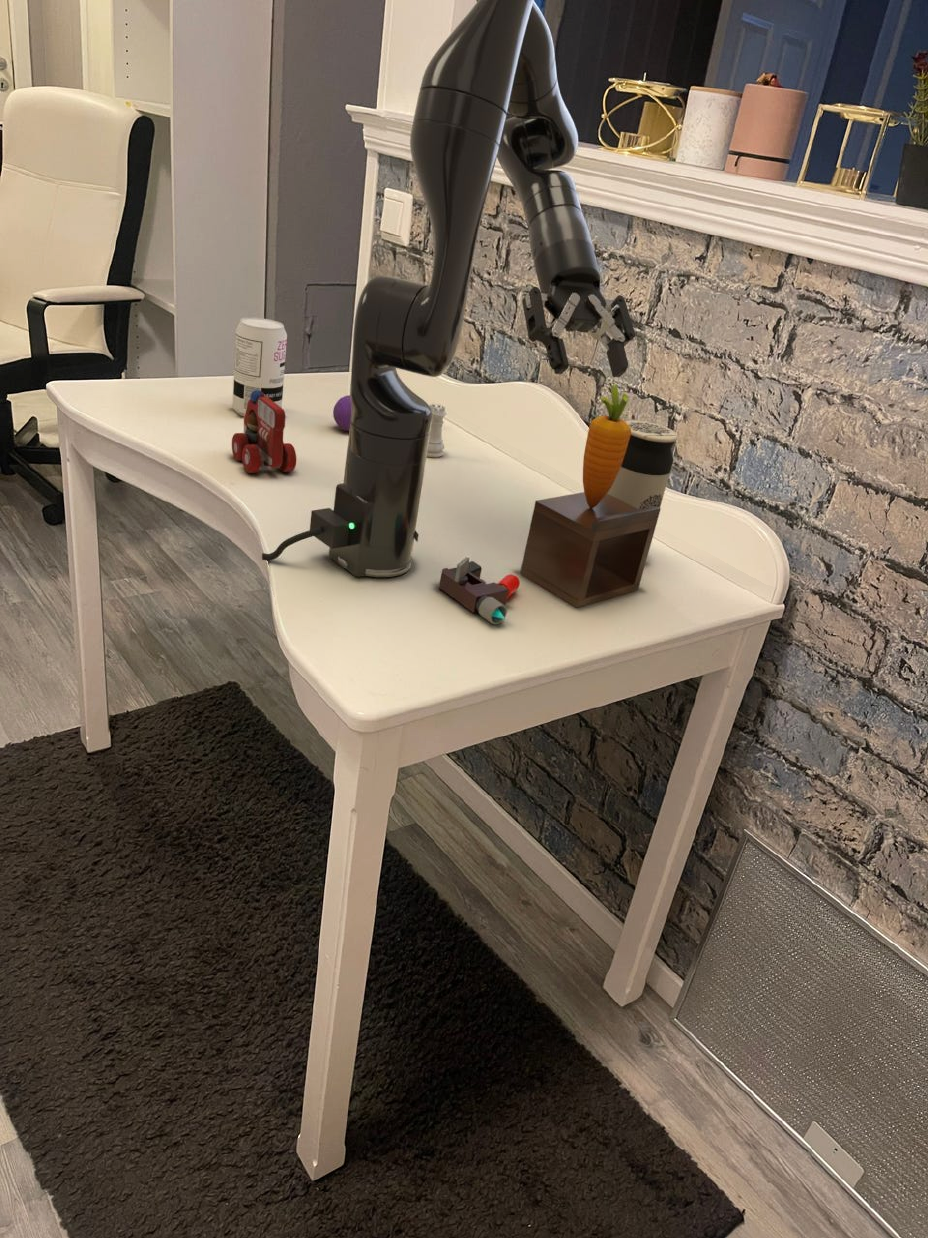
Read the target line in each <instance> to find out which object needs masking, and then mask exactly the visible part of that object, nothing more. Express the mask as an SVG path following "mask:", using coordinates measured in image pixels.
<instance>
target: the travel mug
mask: <svg viewBox="0 0 928 1238" xmlns="http://www.w3.org/2000/svg"><path fill="white" fill-rule="evenodd" d="M624 421H625V420H624ZM625 422H626V423H627V424H628V425H629V427H630V428H631V435H630V439H629V442H628V446H627V449H626V453H625V456H624V459H623V462H622V465H621V468H620V470H619V472H618V474H617V477H616V479H615V481H614V483H613V485H612V487H611V488H610V490H609V491H608V493H607V494H609V495H611V496H613V497H615V498H617V499H619V500H621V501H623V502H625V503H627V504H629V505H631V506H633V507H635V508H637V509H639V510H640V509H645V508H650V507H655V506H657V507H659V508H661V506H662V502H663V500H664V495H665V492H666V489H667V485H668V481H669V477H670V474H671V472H672V471H671V470H672V467H673V463H674V456H673V451H672V448H673V446H674V444H675V442H676V441H677V440H678V439H679V435H678V433H676V431H674V430H672V428H670V427H666V426H664V425H661V424H658V423H654V422H650V421H644V420H626V421H625Z"/></svg>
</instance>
